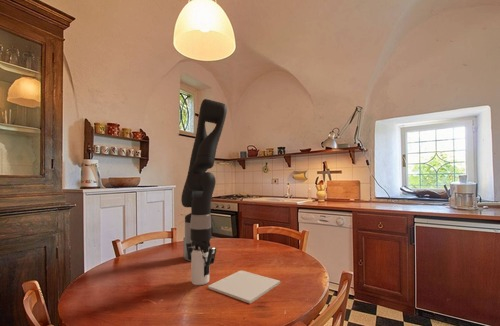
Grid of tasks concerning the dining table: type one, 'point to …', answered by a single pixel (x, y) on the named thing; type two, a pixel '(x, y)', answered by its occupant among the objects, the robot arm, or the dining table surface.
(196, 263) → the can
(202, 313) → the dining table surface
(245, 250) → the dining table surface
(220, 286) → the tile mat
